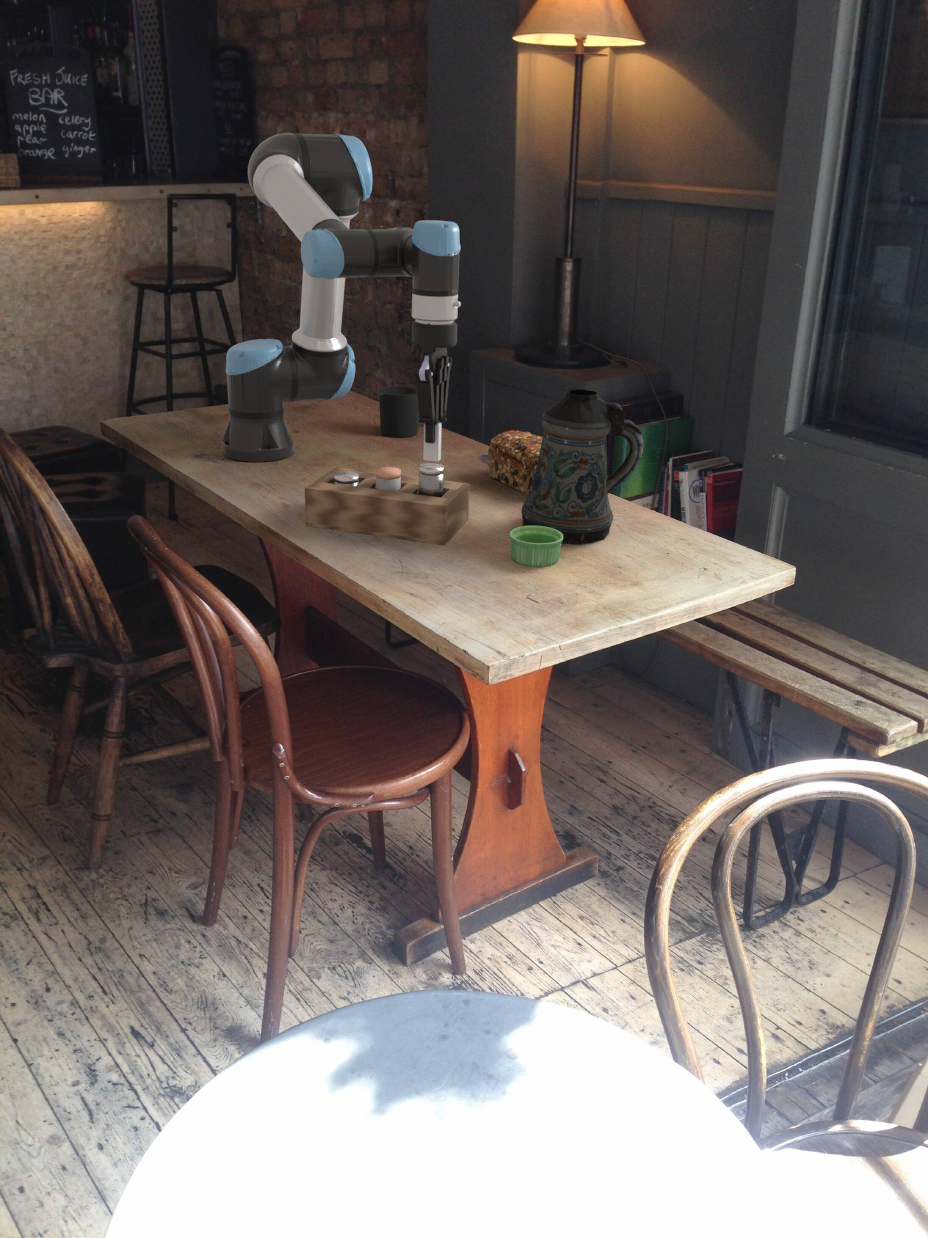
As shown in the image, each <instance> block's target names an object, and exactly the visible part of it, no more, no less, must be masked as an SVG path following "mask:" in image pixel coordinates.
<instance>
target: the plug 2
mask: <svg viewBox="0 0 928 1238" xmlns="http://www.w3.org/2000/svg"><path fill="white" fill-rule="evenodd" d="M444 474H445V466H444V465H443V464H441V463H437V462H435V463H434V462H425V463H421V464H419V465H418V477H419V488H418V495H425V496H432V497H440V498H441V497H442V496H443V489H444V481H445V475H444Z"/></svg>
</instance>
